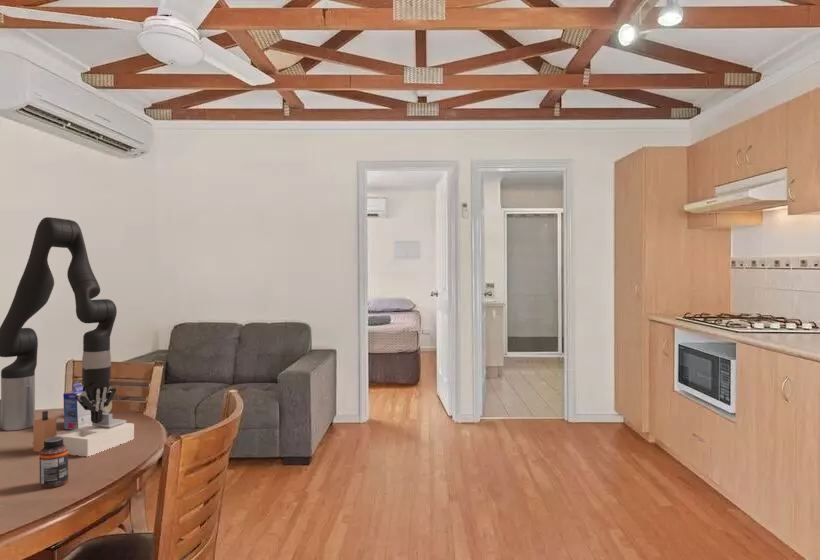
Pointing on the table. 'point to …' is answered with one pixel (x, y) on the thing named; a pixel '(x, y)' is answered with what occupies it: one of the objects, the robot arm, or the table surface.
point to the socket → (96, 438)
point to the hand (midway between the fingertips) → (96, 422)
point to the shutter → (108, 421)
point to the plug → (43, 430)
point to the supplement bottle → (53, 463)
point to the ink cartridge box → (75, 410)
